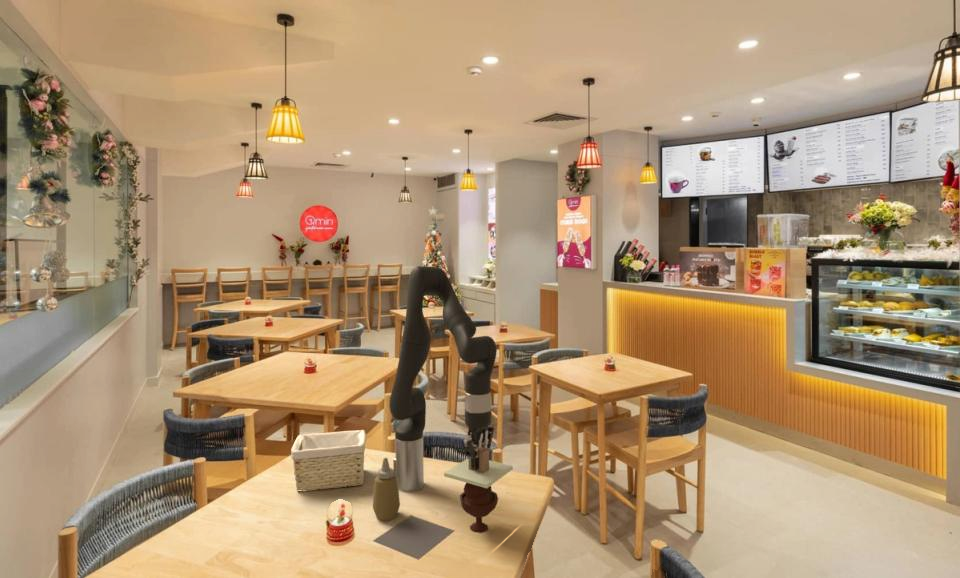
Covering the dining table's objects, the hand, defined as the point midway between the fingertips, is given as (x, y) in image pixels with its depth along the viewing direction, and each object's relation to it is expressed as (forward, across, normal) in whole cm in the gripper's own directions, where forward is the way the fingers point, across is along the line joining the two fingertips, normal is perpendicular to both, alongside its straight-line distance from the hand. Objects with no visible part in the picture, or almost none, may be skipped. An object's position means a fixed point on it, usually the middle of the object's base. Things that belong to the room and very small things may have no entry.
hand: (478, 467), depth 147 cm
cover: (+2, 0, 0) cm, 2 cm away
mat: (+18, +13, -13) cm, 26 cm away
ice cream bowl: (+18, 0, 0) cm, 18 cm away
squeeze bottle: (+18, +9, -27) cm, 34 cm away
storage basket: (+19, +1, -60) cm, 63 cm away
